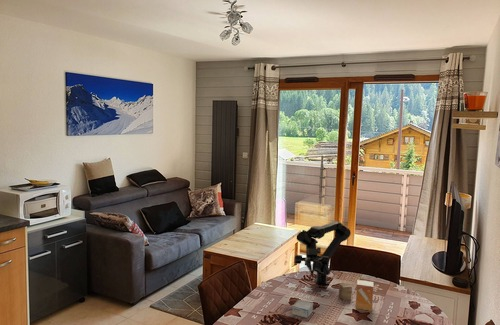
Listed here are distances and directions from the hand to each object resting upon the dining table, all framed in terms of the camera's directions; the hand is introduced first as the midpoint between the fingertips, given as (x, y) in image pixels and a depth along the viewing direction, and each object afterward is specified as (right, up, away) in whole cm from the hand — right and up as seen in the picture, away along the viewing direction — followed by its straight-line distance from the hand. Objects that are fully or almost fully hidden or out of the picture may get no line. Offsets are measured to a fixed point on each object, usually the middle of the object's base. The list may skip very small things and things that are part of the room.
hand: (312, 275), depth 208 cm
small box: (+25, -14, -9) cm, 30 cm away
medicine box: (-5, -12, -12) cm, 17 cm away
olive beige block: (+18, -13, +2) cm, 22 cm away
